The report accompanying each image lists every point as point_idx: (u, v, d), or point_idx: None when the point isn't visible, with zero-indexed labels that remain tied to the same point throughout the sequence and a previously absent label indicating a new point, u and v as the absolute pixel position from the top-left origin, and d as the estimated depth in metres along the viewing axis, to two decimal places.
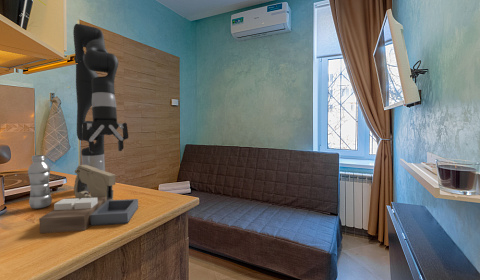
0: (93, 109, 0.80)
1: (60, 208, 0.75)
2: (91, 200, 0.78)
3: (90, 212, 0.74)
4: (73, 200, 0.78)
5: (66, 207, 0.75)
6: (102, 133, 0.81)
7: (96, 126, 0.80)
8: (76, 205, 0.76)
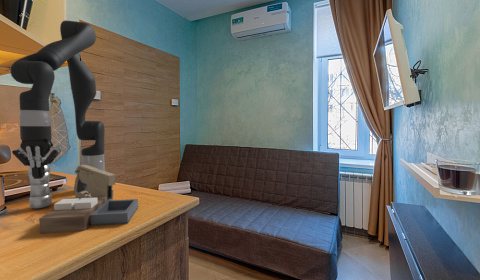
0: None
1: (60, 208, 0.75)
2: (91, 200, 0.78)
3: (90, 212, 0.74)
4: (73, 200, 0.78)
5: (66, 207, 0.75)
6: None
7: (24, 147, 0.73)
8: (76, 205, 0.76)
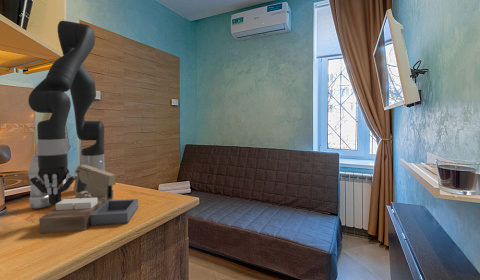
0: None
1: (61, 208, 0.75)
2: (91, 200, 0.78)
3: (90, 212, 0.74)
4: (74, 200, 0.78)
5: (67, 207, 0.75)
6: None
7: (41, 175, 0.74)
8: (76, 205, 0.76)
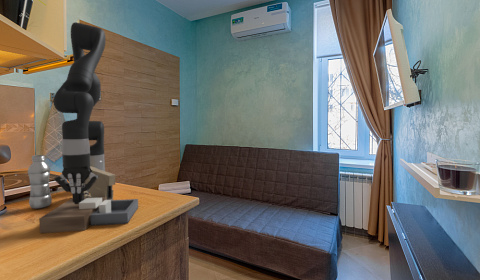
0: None
1: (84, 207, 0.76)
2: None
3: (90, 212, 0.74)
4: (97, 199, 0.79)
5: (90, 206, 0.76)
6: None
7: (65, 174, 0.75)
8: (102, 206, 0.77)
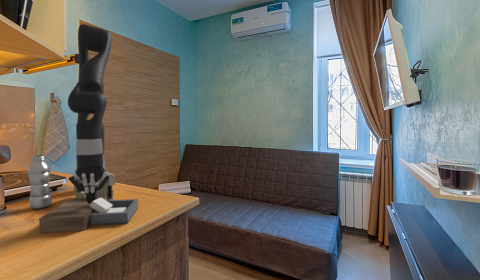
0: None
1: (94, 208, 0.76)
2: None
3: (90, 212, 0.74)
4: (108, 205, 0.79)
5: (99, 210, 0.76)
6: None
7: (79, 174, 0.76)
8: None
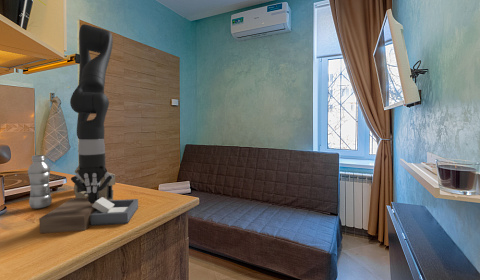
0: None
1: (96, 208, 0.76)
2: None
3: (90, 212, 0.74)
4: (110, 205, 0.80)
5: (102, 210, 0.77)
6: None
7: (81, 174, 0.76)
8: None
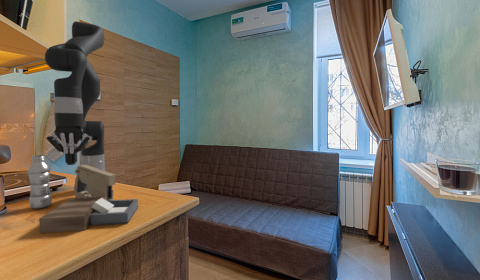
0: None
1: (96, 209, 0.76)
2: None
3: (90, 212, 0.74)
4: (110, 206, 0.80)
5: (102, 211, 0.77)
6: None
7: (58, 134, 0.74)
8: None
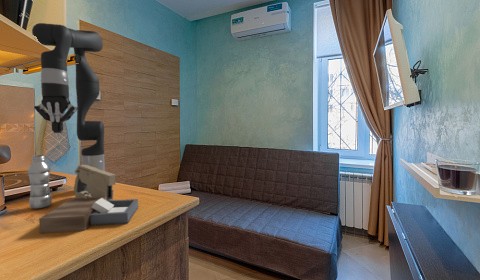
0: None
1: (96, 209, 0.76)
2: None
3: (90, 212, 0.74)
4: (110, 206, 0.80)
5: (102, 211, 0.77)
6: None
7: (44, 103, 0.80)
8: None
